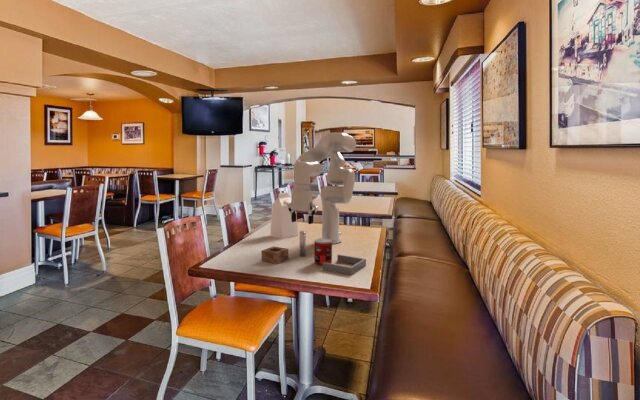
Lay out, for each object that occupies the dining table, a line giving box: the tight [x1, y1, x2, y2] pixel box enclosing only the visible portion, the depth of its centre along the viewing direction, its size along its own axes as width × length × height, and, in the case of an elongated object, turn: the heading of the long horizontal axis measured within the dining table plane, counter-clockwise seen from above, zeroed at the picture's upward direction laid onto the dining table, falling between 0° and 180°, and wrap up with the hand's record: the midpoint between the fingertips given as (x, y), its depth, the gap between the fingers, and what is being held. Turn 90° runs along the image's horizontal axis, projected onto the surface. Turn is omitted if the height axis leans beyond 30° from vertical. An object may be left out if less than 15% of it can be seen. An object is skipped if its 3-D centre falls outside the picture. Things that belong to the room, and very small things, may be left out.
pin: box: [299, 230, 307, 257], centre depth 181 cm, size 3×3×12 cm
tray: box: [321, 254, 367, 276], centre depth 163 cm, size 15×14×3 cm
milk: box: [269, 192, 299, 240], centre depth 222 cm, size 12×12×26 cm
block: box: [260, 246, 290, 265], centre depth 174 cm, size 9×9×5 cm
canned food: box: [313, 237, 333, 267], centre depth 168 cm, size 8×8×11 cm
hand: (302, 222), depth 179 cm, fingers open, 9 cm apart
